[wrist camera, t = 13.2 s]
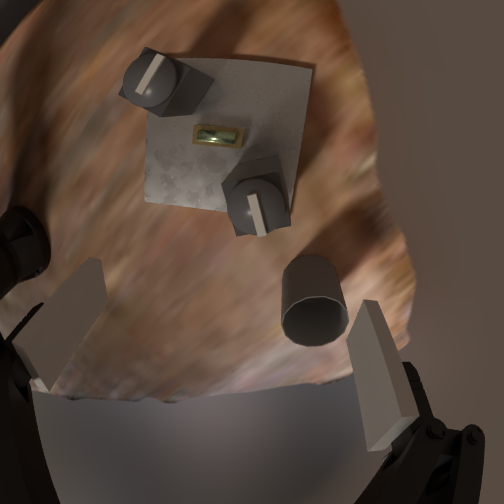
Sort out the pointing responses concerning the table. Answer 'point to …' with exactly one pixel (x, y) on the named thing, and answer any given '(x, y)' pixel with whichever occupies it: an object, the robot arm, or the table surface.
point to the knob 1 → (164, 84)
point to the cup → (312, 302)
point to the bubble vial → (218, 136)
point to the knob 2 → (257, 197)
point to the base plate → (229, 115)
